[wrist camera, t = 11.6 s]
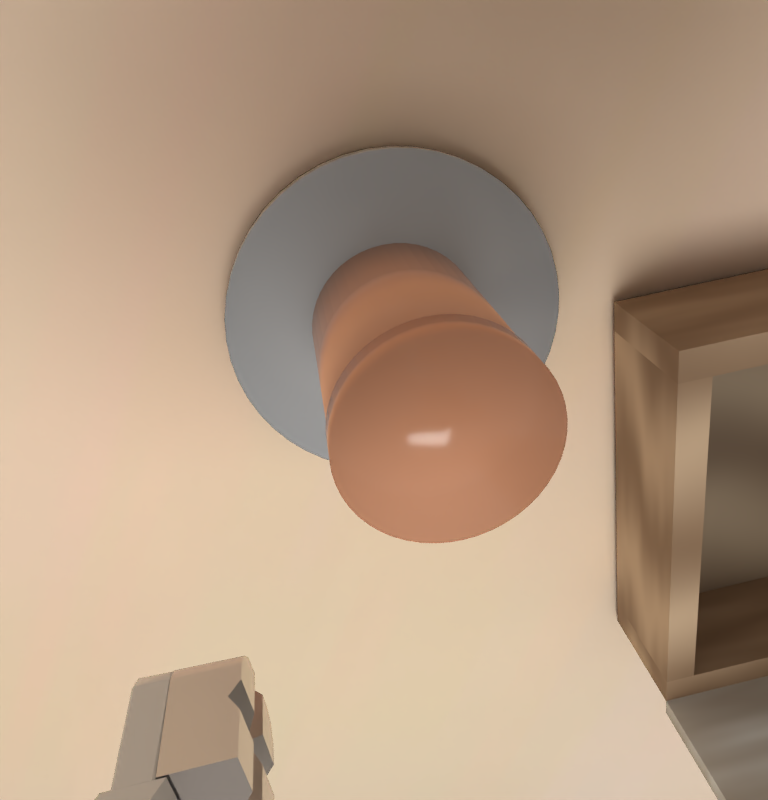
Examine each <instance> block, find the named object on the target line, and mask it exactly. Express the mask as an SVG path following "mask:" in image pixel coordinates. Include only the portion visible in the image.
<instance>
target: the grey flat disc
mask: <svg viewBox="0 0 768 800" xmlns="http://www.w3.org/2000/svg"><path fill="white" fill-rule="evenodd" d="M392 243H409V244H416V245H420V246H424V247H428V248H430V249H432V250H435V251H437V252H439V253H441V254H442V255H444V256H446V257H447V258H448V259H450V260H451V261H452V262H453V263H455V264H456V265H457V266H458V268H459V269H460V270H461V271H462V272H463V273H464V274H465V275H466V277H467V278H468V279H469V280H470V281H471V282H472V284H473V285H474V286H475V287H476V288H477V290H478V291H479V292H480V293H481V294H482V295H483V297H484V298H485V299H486V300H487V301H488V302H489V304H490V305H491V306H492V307H493V308H494V309H495V311H496V312H497V313H498V314H499V315H500V316H501V318H502V319H503V320H504V321H505V322H506V324H507V325H508V326H509V327H510V328H511V329H512V331H513V332H514V333H515V334H516V335H517V336H518V337H520V338H521V339H522V340H523V341H524V342H525V343H526V344H527V345H528V346H529V347H530V348H531V349H532V350H533V352H534V353H535V354H536V355H537V356H538V357H539V358H540V360H541V361H542V362H543V363H544V364H545V362H546V359H547V357H548V355H549V352H550V349H551V346H552V342H553V338H554V335H555V331H556V324H557V318H558V305H559V289H558V281H557V273H556V268H555V264H554V260H553V256H552V253H551V250H550V247H549V245H548V243H547V240H546V238H545V235H544V233H543V231H542V229H541V228H540V226H539V224H538V223H537V221H536V219H535V218H534V216H533V214H532V213H531V212H530V210H529V209H528V208H527V207H526V206H525V204H524V203H523V202H522V201H521V200H520V198H519V197H518V196H517V195H516V194H515V193H513V192H512V191H511V190H510V189H509V188H508V187H507V186H506V185H505V184H503V183H502V182H501V181H500V180H498V179H497V178H495V177H494V176H492V175H491V174H489V173H488V172H486V171H485V170H483V169H481V168H480V167H478V166H476V165H474V164H472V163H470V162H468V161H465V160H463V159H461V158H459V157H457V156H454V155H450V154H447V153H444V152H441V151H437V150H433V149H427V148H420V147H414V146H384V147H376V148H368V149H363V150H359V151H355V152H352V153H348V154H344V155H341V156H339V157H336V158H334V159H331V160H329V161H327V162H324V163H322V164H320V165H318V166H316V167H315V168H313V169H311V170H310V171H308V172H306V173H305V174H303V175H301V176H299V177H298V178H297V179H295V180H294V181H293V182H292V183H290V184H289V185H288V186H287V187H285V188H284V189H283V190H282V191H280V192H279V193H278V194H277V196H276V197H275V198H274V199H273V200H272V201H271V202H270V203H269V204H268V205H267V206H266V207H265V208H264V209H263V211H262V212H261V213H260V215H259V216H258V218H257V219H256V220H255V222H254V223H253V225H252V226H251V227H250V229H249V231H248V233H247V235H246V237H245V238H244V240H243V242H242V244H241V246H240V248H239V250H238V253H237V256H236V259H235V262H234V264H233V267H232V270H231V275H230V280H229V285H228V289H227V295H226V307H225V330H226V341H227V346H228V350H229V355H230V359H231V363H232V365H233V368H234V371H235V373H236V376H237V379H238V381H239V383H240V385H241V387H242V388H243V390H244V392H245V394H246V396H247V398H248V399H249V400H250V402H251V403H252V404H253V406H254V407H255V409H256V410H257V411H258V413H259V414H260V415H261V416H262V417H263V418H264V419H265V420H266V421H267V422H268V423H269V424H270V425H271V426H272V427H273V428H274V429H275V430H276V431H277V432H279V433H280V434H281V435H283V436H284V437H285V438H286V439H288V440H289V441H290V442H292V443H294V444H296V445H297V446H299V447H301V448H302V449H304V450H306V451H308V452H310V453H312V454H315V455H317V456H319V457H321V458H324V459H327V460H329V453H328V447H327V440H326V419H325V412H324V406H323V399H322V393H321V387H320V380H319V374H318V368H317V361H316V355H315V348H314V342H313V336H312V319H313V312H314V308H315V304H316V301H317V299H318V296H319V294H320V292H321V290H322V288H323V287H324V285H325V283H326V282H327V280H328V279H329V278H330V277H331V275H332V274H333V273H334V272H335V271H336V270H337V269H338V268H339V267H340V266H341V265H342V264H343V263H345V262H346V261H347V260H349V259H350V258H352V257H353V256H355V255H357V254H358V253H360V252H363V251H365V250H367V249H370V248H373V247H376V246H380V245H384V244H392Z"/></svg>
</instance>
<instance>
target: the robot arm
mask: <svg viewBox="0 0 768 800" xmlns="http://www.w3.org/2000/svg"><path fill="white" fill-rule="evenodd" d="M273 765H274V751H273V738H272V730H271V722H270V718H269V714H268V710H267V706H266V703H265V700H264V697H263V695H262V694H260V693H258V692H257V691H255V673H254V670H253V668H252V665H251V663H250V661H249V658H248V657H246V656H241V657H236V658H232V659H227V660H222V661H217V662H213V663H208V664H203V665H198V666H193V667H189V668H184V669H179V670H174V671H173V672H168V673H163V674H159V675H154V676H149V677H144V678H139V679H138V680H137V682H136V684H135V685H134V687H133V689H132V691H131V696H130V701H129V706H128V710H127V715H126V720H125V725H124V730H123V734H122V739H121V744H120V749H119V754H118V758H117V763H116V768H115V773H114V778H113V782H112V787H111V790H110V791H106V792H102V793H99V795H98V796H97V797H96V798H95V800H274V794H273V791H272V788H271V786H270V783H269V780H268V778H267V775H268V773H269V771H270V770H271V768H272V766H273Z"/></svg>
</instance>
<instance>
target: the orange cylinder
mask: <svg viewBox="0 0 768 800" xmlns="http://www.w3.org/2000/svg"><path fill="white" fill-rule="evenodd" d="M312 336H313V342H314V348H315V355H316V361H317V368H318V374H319V380H320V387H321V393H322V399H323V406H324V412H325V419H326V440H327V447H328V453H329V460H330V466H331V472H332V475H333V478H334V481H335V484H336V486H337V488H338V490H339V492H340V494H341V496H342V498H343V499H344V501H345V502H346V503H347V505H348V506H349V507H350V508H351V509H352V511H353V512H354V513H355V514H356V515H357V516H358V517H360V518H361V519H362V520H363V521H365V522H366V523H367V524H369V525H370V526H372V527H374V528H375V529H377V530H379V531H381V532H383V533H385V534H388V535H390V536H393V537H396V538H400V539H403V540H407V541H414V542H420V543H444V542H453V541H459V540H464V539H468V538H471V537H475V536H478V535H481V534H483V533H486V532H488V531H491V530H493V529H495V528H497V527H499V526H500V525H502V524H504V523H506V522H507V521H509V520H510V519H512V518H514V517H515V516H517V515H518V514H519V513H520V512H522V511H523V510H524V509H525V508H526V507H528V506H529V505H530V504H531V503H532V502H533V501H534V500H535V499H536V498H537V497H538V496H539V494H540V493H541V492H542V491H543V489H544V488H545V487H546V485H547V484H548V483H549V481H550V479H551V478H552V476H553V474H554V473H555V471H556V469H557V466H558V464H559V462H560V460H561V457H562V454H563V450H564V447H565V442H566V436H567V412H566V405H565V401H564V398H563V394H562V392H561V389H560V387H559V385H558V383H557V381H556V379H555V378H554V376H553V375H552V373H551V372H550V370H549V369H548V368H547V367H546V365H545V364H544V363H543V362H542V361H541V360H540V358H539V357H538V356H537V355H536V354H535V353H534V352H533V350H532V349H531V348H530V347H529V346H528V345H527V344H526V343H525V342H524V341H523V340H522V339H521V338H520V337H518V336H517V335H516V334H515V333H514V332H513V331H512V329H511V328H510V327H509V326H508V325H507V324H506V322H505V321H504V320H503V319H502V318H501V316H500V315H499V314H498V313H497V312H496V311H495V309H494V308H493V307H492V306H491V305H490V304H489V302H488V301H487V300H486V299H485V298H484V297H483V295H482V294H481V293H480V292H479V291H478V290H477V288H476V287H475V286H474V285H473V284H472V282H471V281H470V280H469V279H468V278H467V277H466V275H465V274H464V273H463V272H462V271H461V270H460V269H459V268H458V266H457V265H456V264H455V263H453V262H452V261H451V260H450V259H448V258H447V257H446V256H444V255H442V254H441V253H439V252H437V251H435V250H432V249H430V248H428V247H424V246H420V245H416V244H409V243H392V244H384V245H380V246H376V247H373V248H370V249H367V250H365V251H363V252H360V253H358V254H357V255H355V256H353V257H352V258H350V259H349V260H347V261H346V262H345V263H343V264H342V265H341V266H340V267H339V268H338V269H337V270H336V271H335V272H334V273H333V274H332V275H331V277H330V278H329V279H328V280H327V282H326V283H325V285H324V287H323V288H322V290H321V292H320V294H319V296H318V299H317V301H316V304H315V308H314V312H313V319H312Z"/></svg>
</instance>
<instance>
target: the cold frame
mask: <svg viewBox="0 0 768 800" xmlns="http://www.w3.org/2000/svg"><path fill="white" fill-rule="evenodd" d="M614 342H615V433H616V524H617V615H618V622H619V624H620V625H621V627H622V629H623V630H624V632H625V634H626V635H627V637H628V639H629V640H630V642H631V643H632V645H633V647H634V648H635V650H636V652H637V653H638V655H639V657H640V658H641V660H642V662H643V663H644V665H645V667H646V668H647V670H648V672H649V673H650V675H651V677H652V678H653V680H654V682H655V683H656V685H657V686H658V688H659V690H660V691H661V693H662V695H663V696H664V698H665V700H666V713H667V715H668V716H669V718H670V720H671V721H672V723H673V725H674V727H675V728H676V730H677V732H678V733H679V735H680V737H681V738H682V740H683V742H684V743H685V745H686V747H687V748H688V750H689V752H690V753H691V755H692V757H693V758H694V760H695V762H696V764H697V765H698V767H699V769H700V770H701V772H702V774H703V775H704V777H705V779H706V780H707V782H708V784H709V785H710V787H711V789H712V790H713V792H714V794H715V796H716V797H717V799H718V800H768V269H766V270H761V271H757V272H752V273H747V274H743V275H738V276H733V277H729V278H724V279H719V280H715V281H710V282H705V283H701V284H696V285H691V286H687V287H682V288H677V289H673V290H668V291H663V292H659V293H654V294H649V295H645V296H640V297H636V298H631V299H626V300H622V301H617V302H614Z"/></svg>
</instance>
